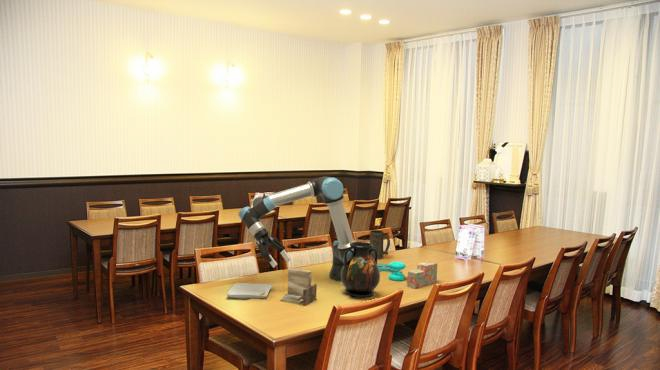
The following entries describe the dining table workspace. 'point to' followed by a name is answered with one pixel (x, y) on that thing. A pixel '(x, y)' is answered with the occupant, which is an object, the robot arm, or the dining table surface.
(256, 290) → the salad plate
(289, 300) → the offcut stack
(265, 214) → the robot arm
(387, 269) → the alien figure
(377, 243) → the beer stein
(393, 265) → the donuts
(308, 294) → the walnut rack
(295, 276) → the birch board
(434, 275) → the stack of blocks
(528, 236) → the dining table surface
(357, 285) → the amphora vase
